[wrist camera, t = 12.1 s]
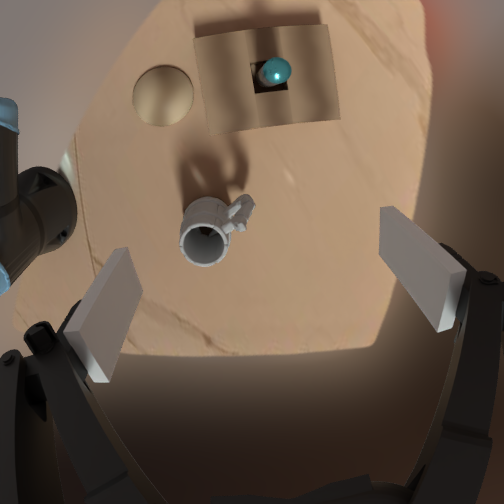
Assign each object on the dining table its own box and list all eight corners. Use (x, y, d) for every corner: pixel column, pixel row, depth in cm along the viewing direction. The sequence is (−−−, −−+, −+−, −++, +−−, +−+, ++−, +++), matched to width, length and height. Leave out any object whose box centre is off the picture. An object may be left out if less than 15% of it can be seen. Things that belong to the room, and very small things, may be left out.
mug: (174, 212, 49) (158, 246, 38) (237, 169, 46) (238, 192, 36) (203, 248, 52) (196, 289, 41) (265, 209, 49) (273, 242, 39)
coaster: (139, 132, 43) (138, 132, 42) (128, 76, 39) (128, 76, 38) (198, 118, 43) (198, 119, 42) (188, 60, 38) (187, 60, 38)
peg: (257, 88, 41) (265, 84, 30) (254, 69, 40) (261, 58, 29) (278, 86, 41) (293, 81, 30) (275, 66, 40) (289, 56, 29)
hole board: (211, 133, 44) (209, 136, 41) (196, 43, 37) (192, 38, 34) (333, 117, 43) (340, 119, 40) (320, 29, 37) (327, 24, 34)
